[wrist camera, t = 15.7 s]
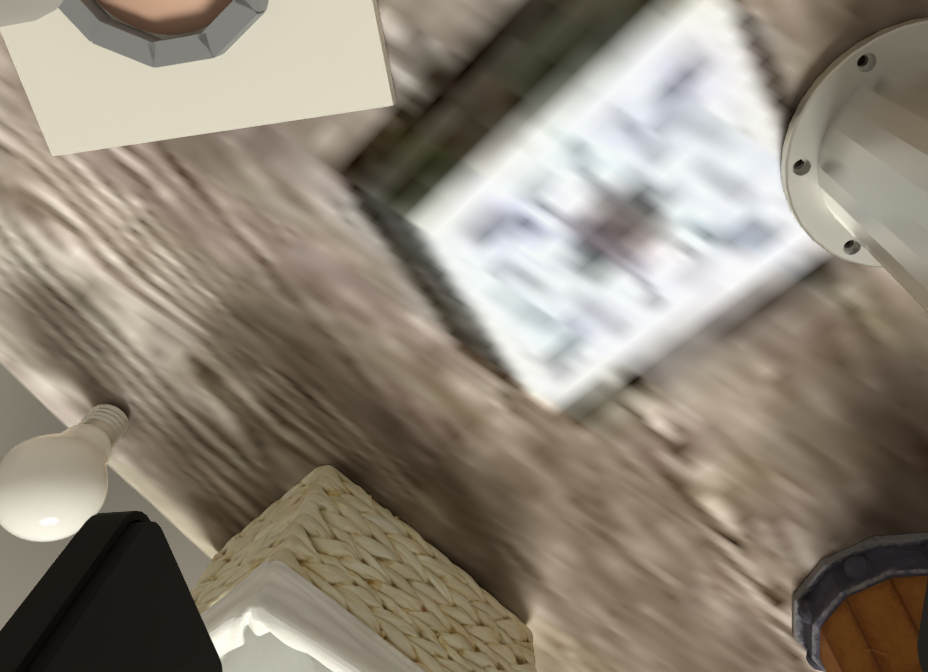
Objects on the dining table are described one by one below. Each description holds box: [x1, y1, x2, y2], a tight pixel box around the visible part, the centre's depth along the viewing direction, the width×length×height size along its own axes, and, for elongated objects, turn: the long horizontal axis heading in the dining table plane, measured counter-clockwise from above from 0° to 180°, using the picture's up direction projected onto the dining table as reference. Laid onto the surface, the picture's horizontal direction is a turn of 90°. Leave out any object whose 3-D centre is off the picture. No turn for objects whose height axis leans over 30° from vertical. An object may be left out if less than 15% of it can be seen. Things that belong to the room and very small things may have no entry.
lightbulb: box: [0, 404, 129, 542], centre depth 48 cm, size 6×6×11 cm
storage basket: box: [190, 465, 536, 672], centre depth 52 cm, size 24×16×15 cm
